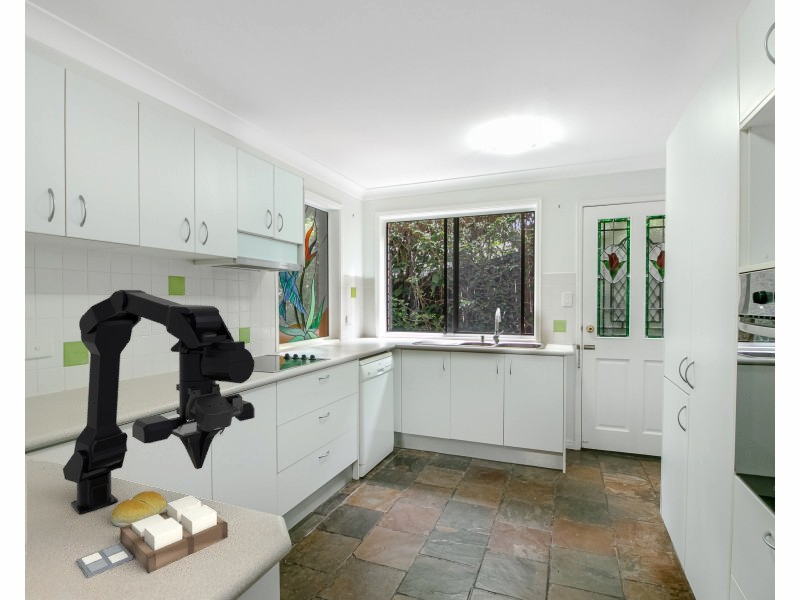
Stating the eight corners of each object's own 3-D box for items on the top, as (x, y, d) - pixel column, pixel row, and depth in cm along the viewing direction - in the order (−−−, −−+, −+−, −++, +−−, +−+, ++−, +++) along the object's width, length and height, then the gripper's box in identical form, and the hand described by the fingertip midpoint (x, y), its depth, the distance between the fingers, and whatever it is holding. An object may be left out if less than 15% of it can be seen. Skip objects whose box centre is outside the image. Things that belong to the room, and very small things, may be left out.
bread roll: (101, 524, 79) (101, 503, 79) (146, 502, 88) (146, 483, 88) (131, 533, 76) (131, 511, 76) (175, 510, 85) (175, 490, 85)
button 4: (181, 530, 74) (181, 513, 74) (205, 521, 77) (205, 504, 77) (192, 539, 71) (192, 521, 71) (216, 529, 74) (216, 512, 74)
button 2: (144, 545, 70) (144, 527, 69) (171, 534, 73) (171, 517, 73) (154, 556, 67) (154, 536, 67) (182, 544, 70) (182, 525, 70)
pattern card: (76, 561, 68) (76, 558, 68) (120, 545, 72) (120, 542, 72) (87, 577, 64) (87, 574, 64) (132, 559, 68) (132, 555, 68)
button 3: (167, 519, 78) (167, 503, 78) (191, 510, 81) (190, 495, 81) (177, 527, 75) (177, 510, 75) (201, 518, 78) (201, 501, 78)
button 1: (131, 540, 73) (131, 523, 73) (158, 530, 76) (157, 513, 76) (140, 550, 71) (140, 532, 71) (167, 539, 74) (167, 521, 74)
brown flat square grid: (120, 542, 73) (120, 527, 73) (194, 513, 83) (194, 500, 83) (148, 573, 65) (148, 556, 65) (227, 537, 75) (227, 523, 75)
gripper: (158, 394, 62) (159, 502, 62) (271, 376, 76) (271, 463, 76) (130, 384, 69) (131, 481, 69) (238, 369, 83) (239, 449, 83)
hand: (198, 468), depth 74 cm, fingers closed
